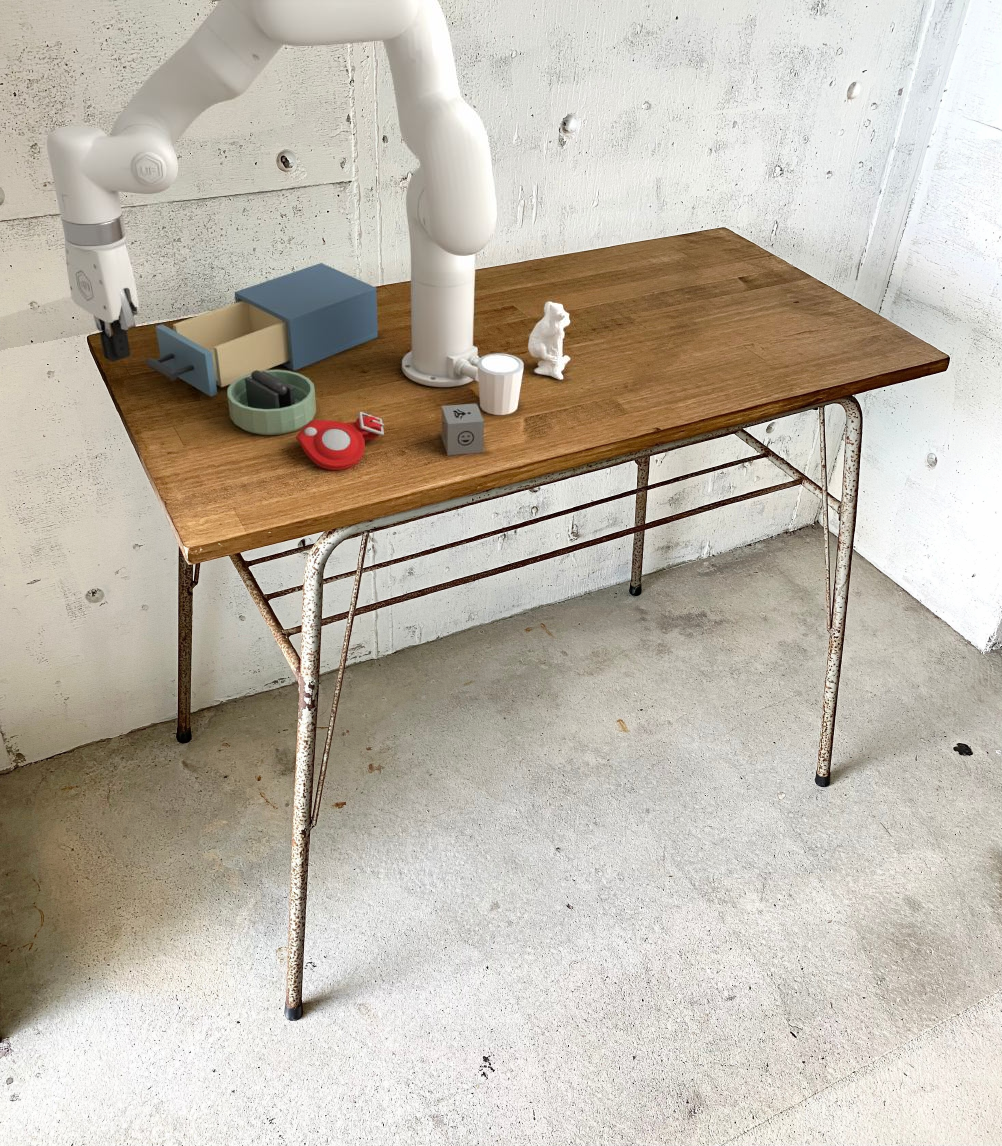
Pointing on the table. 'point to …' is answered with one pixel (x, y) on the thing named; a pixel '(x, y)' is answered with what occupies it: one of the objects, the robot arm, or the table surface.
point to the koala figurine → (550, 341)
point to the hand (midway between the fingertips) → (117, 356)
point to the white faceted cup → (499, 383)
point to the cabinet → (317, 311)
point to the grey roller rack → (268, 391)
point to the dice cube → (462, 429)
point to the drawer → (221, 346)
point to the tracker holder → (338, 440)
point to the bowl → (273, 418)
